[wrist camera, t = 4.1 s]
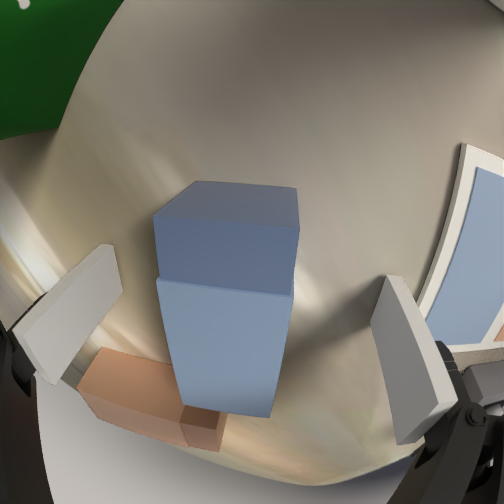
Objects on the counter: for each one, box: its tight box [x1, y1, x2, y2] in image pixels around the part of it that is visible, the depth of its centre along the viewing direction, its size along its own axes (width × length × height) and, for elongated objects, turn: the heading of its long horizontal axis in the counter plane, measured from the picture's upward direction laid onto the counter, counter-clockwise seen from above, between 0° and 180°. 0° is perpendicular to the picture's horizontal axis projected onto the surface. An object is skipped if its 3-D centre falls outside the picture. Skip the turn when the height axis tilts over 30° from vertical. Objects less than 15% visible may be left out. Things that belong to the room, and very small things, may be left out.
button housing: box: [462, 360, 504, 411], centre depth 13 cm, size 6×6×3 cm
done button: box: [485, 404, 504, 416], centre depth 11 cm, size 4×4×3 cm
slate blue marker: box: [153, 181, 300, 418], centre depth 11 cm, size 9×4×4 cm, turn 177°
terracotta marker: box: [76, 347, 228, 452], centre depth 15 cm, size 9×4×4 cm, turn 87°
